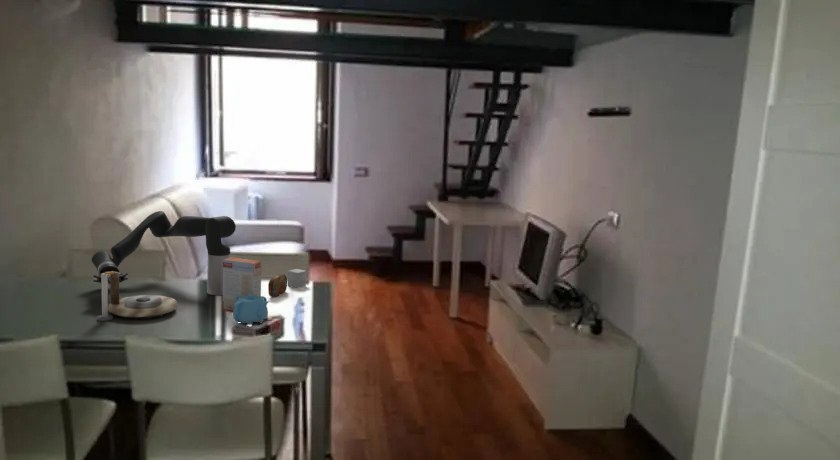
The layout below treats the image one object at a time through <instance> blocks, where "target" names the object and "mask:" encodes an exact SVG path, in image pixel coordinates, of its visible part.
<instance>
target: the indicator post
mask: <svg viewBox="0 0 840 460" xmlns="http://www.w3.org/2000/svg"><path fill="white" fill-rule="evenodd" d="M110 274H114V272H113V271H112V272H105V273H102V274H101V283H100V284H101V285H100V286H101V314H100V315H98V316H97V319H96V320H97V321H99V322H110V321H112V320H114V318H113V317H114V316H113V314H112V315H111V314H109V310H108V305H109V296H108V295H109V294H108V293H109V292H108V289H109V288H108V287H109V286H108V285H109V284H108V279H107V275H110Z"/></svg>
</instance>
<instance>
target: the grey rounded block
mask: <svg viewBox="0 0 840 460" xmlns="http://www.w3.org/2000/svg"><path fill="white" fill-rule="evenodd" d="M306 286H307V270H303V269H300V268H295V269H289V270H288V271H287V287H291V288H294V289H299V287H300V288H304V287H306Z"/></svg>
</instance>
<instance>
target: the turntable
mask: <svg viewBox="0 0 840 460" xmlns="http://www.w3.org/2000/svg"><path fill="white" fill-rule="evenodd" d="M119 272H120V271H119ZM119 272H114V274H110V284H109V286H110V303H109V302H108V313H111V314H112V315H115V316H117V317H118V316H119V317H120V316H125V317H149V316H156V315H161V314H165V313H167V314H169V313H170V312H173V311H175V310H176V309H177V308H178V302H177V300H176V299H174V298H173V297H169V296H164V295H157V294H156V295H155V294H154V295H152V294H151V295H150V294H146V295H145V294H143V295H141V294H140V295H132V296H125V297H121V298H120V283H119ZM165 315H166V314H165Z"/></svg>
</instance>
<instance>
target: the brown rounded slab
mask: <svg viewBox="0 0 840 460" xmlns="http://www.w3.org/2000/svg"><path fill="white" fill-rule="evenodd" d="M267 287H268V289H267V290H268V295H269V297H271V298H279V297H281V296H282V295H283V294H285V293H286V291H287V288H288V276H286V274H277V275H275V276H273V277H271V278H270V279H269V281H268V285H267Z"/></svg>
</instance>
